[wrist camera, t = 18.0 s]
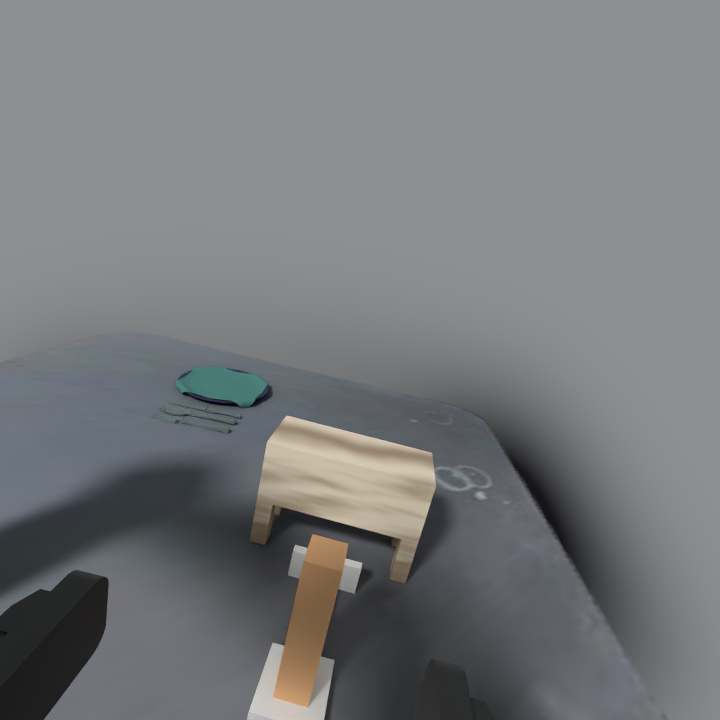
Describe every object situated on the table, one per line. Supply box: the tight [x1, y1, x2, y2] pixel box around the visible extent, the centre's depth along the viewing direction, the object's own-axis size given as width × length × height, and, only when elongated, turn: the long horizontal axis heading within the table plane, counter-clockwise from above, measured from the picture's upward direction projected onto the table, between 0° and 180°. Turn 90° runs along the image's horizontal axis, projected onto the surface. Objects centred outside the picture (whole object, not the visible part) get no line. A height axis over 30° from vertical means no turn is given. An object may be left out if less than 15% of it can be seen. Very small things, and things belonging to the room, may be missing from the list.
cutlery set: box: [150, 366, 269, 433], centre depth 88 cm, size 20×30×2 cm, turn 177°
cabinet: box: [250, 416, 436, 583], centre depth 53 cm, size 10×20×14 cm, turn 83°
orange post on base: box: [247, 534, 362, 720], centre depth 38 cm, size 16×8×15 cm, turn 173°
